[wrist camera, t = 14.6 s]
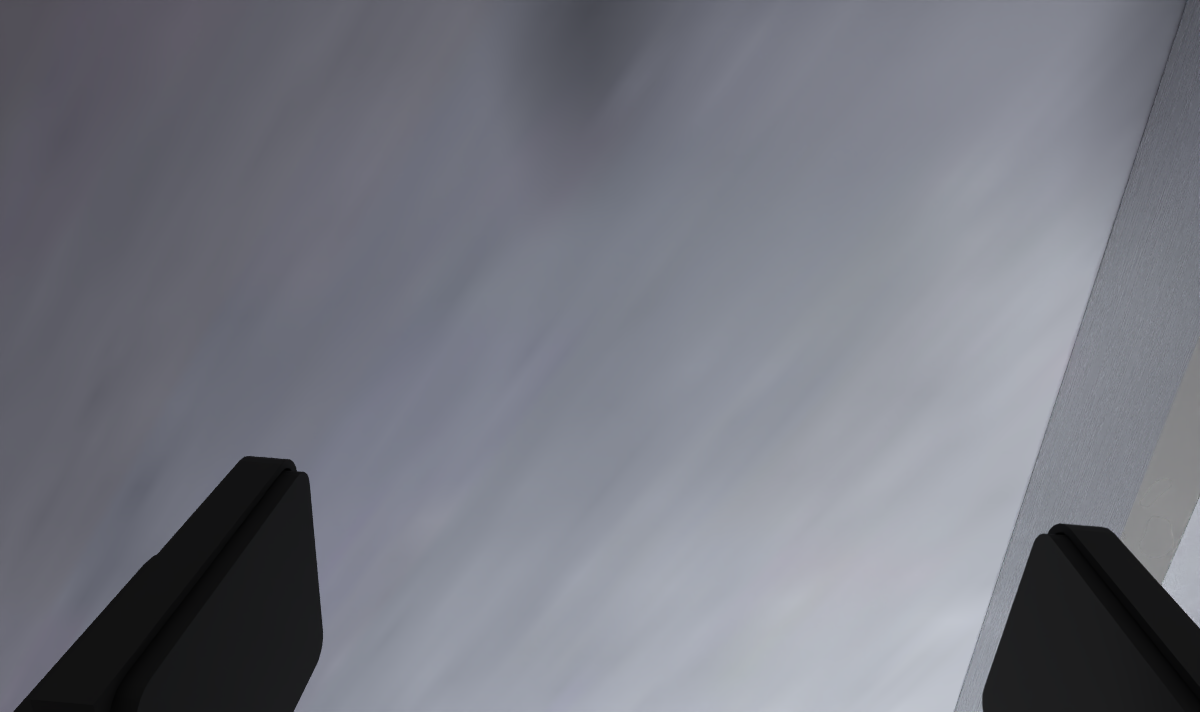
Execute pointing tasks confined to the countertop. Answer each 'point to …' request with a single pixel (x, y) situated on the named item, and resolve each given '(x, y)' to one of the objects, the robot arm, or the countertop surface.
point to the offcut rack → (1128, 367)
